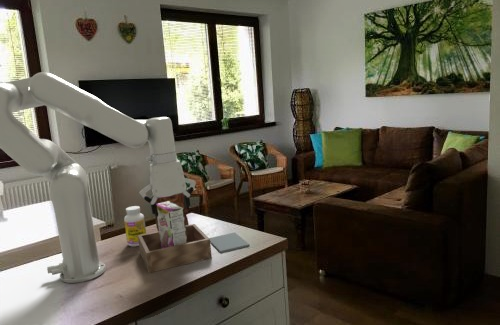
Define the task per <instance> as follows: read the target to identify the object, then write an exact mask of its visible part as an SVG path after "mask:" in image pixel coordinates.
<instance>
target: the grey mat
mask: <svg viewBox="0 0 500 325" xmlns="http://www.w3.org/2000/svg"><path fill="white" fill-rule="evenodd" d="M208 238H209V239H210V245H212V246H213V247H214V248H215V249H216V250H217V251H218V252H219V253H220V254H221V253H222V254H223V253H225V252H230V251H234V250H238V249H239V250H240V249H242V248H246V247H250V243H249V242H248V241H246V240H245V239H244V238H242V237H241V235H239V234H238V233H236V232H232V233H227V234H226V233H225V234H222V235H217V236H212V237H208Z"/></svg>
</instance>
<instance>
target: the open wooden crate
mask: <svg viewBox="0 0 500 325" xmlns="http://www.w3.org/2000/svg"><path fill="white" fill-rule="evenodd" d="M185 228H186V236H187V243H185V244H180V245H176V246H171V247H167V248H162V249H161V242H160V235H159V231H158V230H157V231H153V232H148V233H146V234H143V235H138V240H139V246H138V247H139V254H140V256H141V258H142V261H143V262H144V264H145V267H146V269H147V272H148V273H149V274H150V273H155V272H159V271H162V270H165V269H171V268H174V267H179V266H183V265H187V264H191V263H195V262H199V261H203V260H204V261H205V260H207V259H212V247H211V245H212V244H211V243H210V239H209V238H210V237H208V236H207V234H206V233H204V232H203V230H202V229H200V228H199V226H197V225H196V224H195V223H192V224H189V225H186V226H185Z"/></svg>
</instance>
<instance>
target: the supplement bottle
mask: <svg viewBox="0 0 500 325" xmlns="http://www.w3.org/2000/svg"><path fill="white" fill-rule="evenodd" d="M125 213H126V215H125V216H124V229H125V236H126V244H127V245H128V246H130V247H139V240H138V235H143V234H147V230H146V222H145V215H144V214H143V213H141V207H140V206H139V205H134V206H133V205H132V206H128V207H126V208H125Z"/></svg>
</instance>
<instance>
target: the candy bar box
mask: <svg viewBox="0 0 500 325" xmlns="http://www.w3.org/2000/svg"><path fill="white" fill-rule="evenodd" d="M157 209H158V217H157V221H158V227H159V235H160V242H161V249H162V248H167V247H171V246H176V245H180V244H185V243H187V236H186V228H185V220H184V211H183V208H182V207H180V206H178V205H176V204H174V203H172V202H170V201H166V202H162V203H158V204H157Z"/></svg>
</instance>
